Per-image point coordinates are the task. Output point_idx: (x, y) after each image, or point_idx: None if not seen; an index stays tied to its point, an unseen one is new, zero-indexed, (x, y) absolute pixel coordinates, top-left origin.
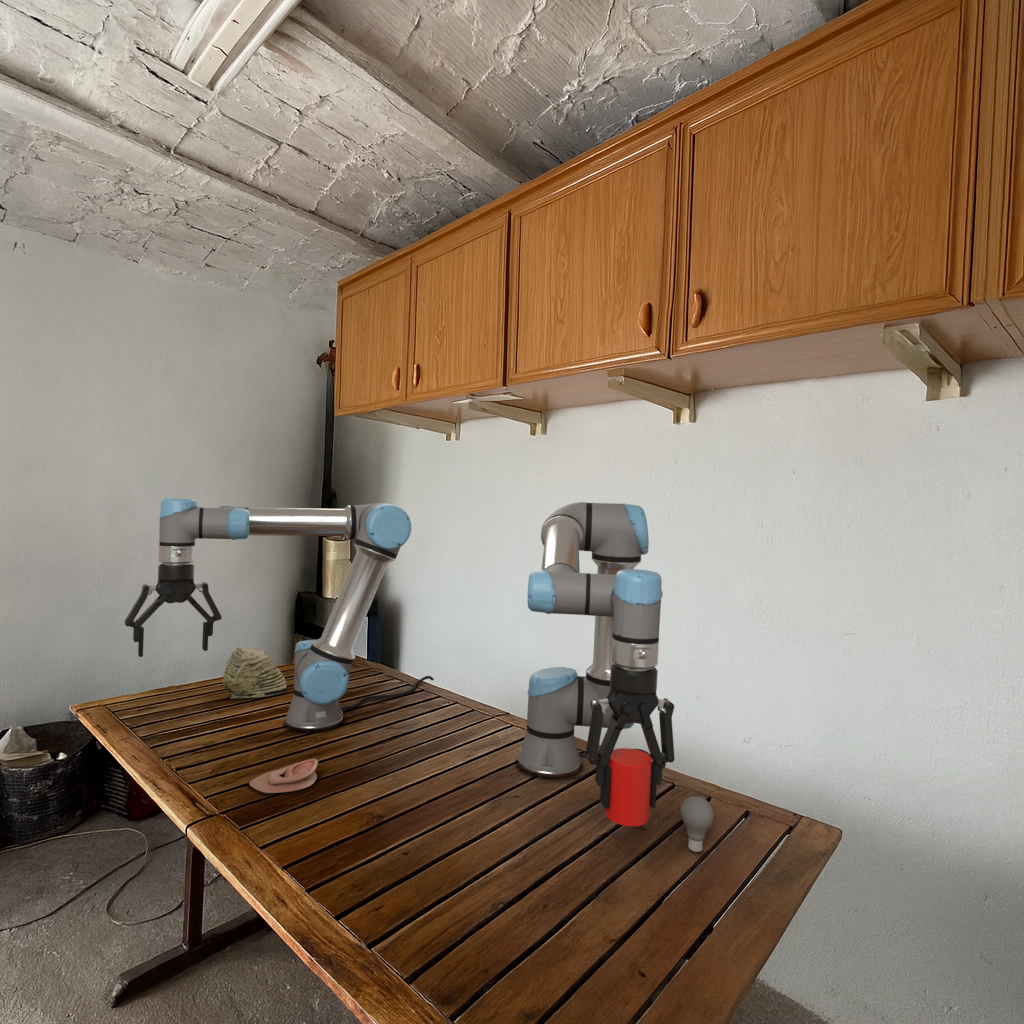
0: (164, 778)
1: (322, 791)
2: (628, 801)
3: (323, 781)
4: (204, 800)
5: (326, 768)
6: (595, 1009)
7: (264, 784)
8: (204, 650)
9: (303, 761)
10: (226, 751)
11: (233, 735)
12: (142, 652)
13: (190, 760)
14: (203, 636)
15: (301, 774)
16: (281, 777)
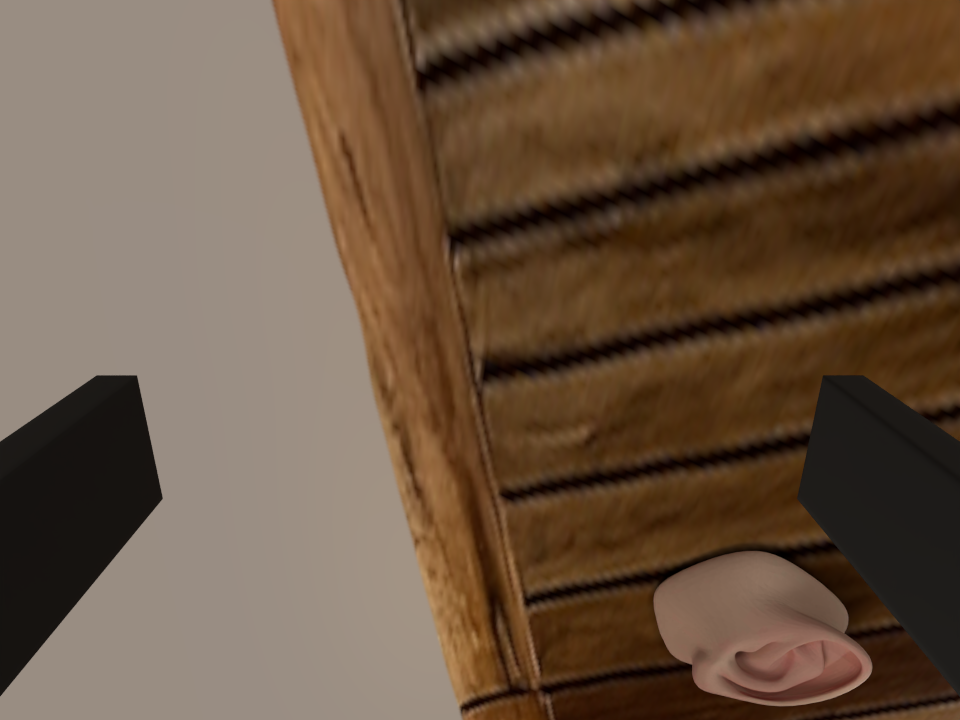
0: (438, 426)
1: None
2: None
3: None
4: (520, 614)
5: None
6: None
7: (684, 645)
8: (801, 503)
9: (836, 641)
10: (685, 287)
11: (777, 102)
12: (131, 531)
13: (542, 312)
14: (918, 524)
15: (789, 687)
16: (732, 677)
